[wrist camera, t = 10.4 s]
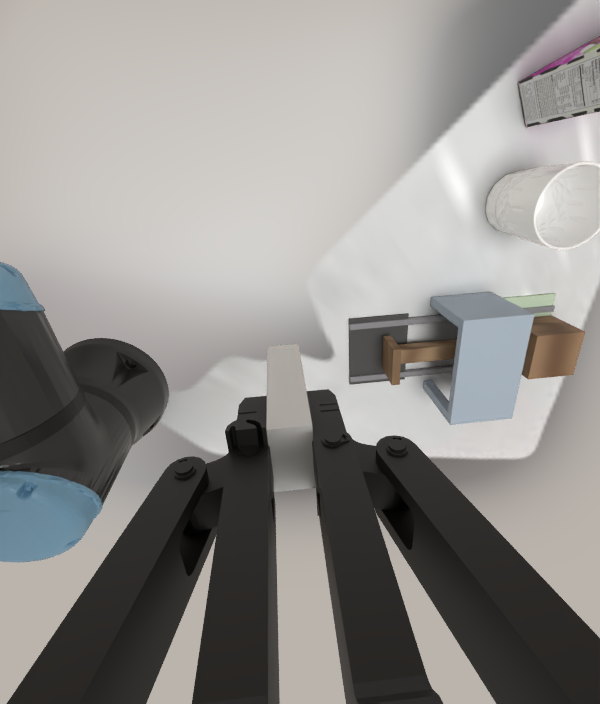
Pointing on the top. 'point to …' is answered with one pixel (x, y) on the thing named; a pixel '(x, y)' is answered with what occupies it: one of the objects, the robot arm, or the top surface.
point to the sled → (540, 361)
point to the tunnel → (474, 355)
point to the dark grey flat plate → (373, 346)
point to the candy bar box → (563, 87)
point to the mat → (534, 302)
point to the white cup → (548, 204)
